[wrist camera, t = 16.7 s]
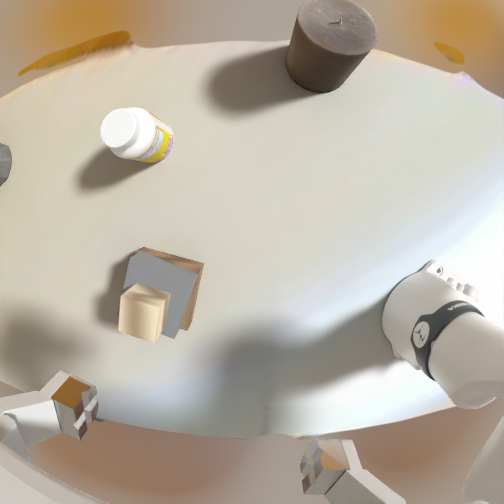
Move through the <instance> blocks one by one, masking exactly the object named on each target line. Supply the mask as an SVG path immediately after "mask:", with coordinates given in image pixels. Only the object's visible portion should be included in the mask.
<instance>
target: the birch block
mask: <svg viewBox="0 0 504 504" xmlns="http://www.w3.org/2000/svg"><path fill="white" fill-rule="evenodd" d="M170 294H171V293H168V292H165V291H161V290H158V289H155V288H151V287H148V286H145V285H141V284H138V283H136V284H135V285H133V286H132V287H131V288H130V289H128V290H127V291H126V292H125V293H124V294H122V295H121V300H120V312H119V328H118V331H120V332H123V333H125V334H128V335H131V336H134V337H137V338H140V339H143V340H146V341H149V342H152V343H155V341H156V340H157V338H158V337H159V335H160V334H161V332H162V330H163V329H164V327H165V326H166V320H167V313H168V307H169V300H170Z"/></svg>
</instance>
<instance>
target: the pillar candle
mask: <svg viewBox="0 0 504 504" xmlns="http://www.w3.org/2000/svg"><path fill="white" fill-rule="evenodd" d="M377 35H378V34H377V28H376V25H375V23H374V21H373V19H372V16H371V15H369V14H368V12H367V11H366V10H365V9H363V8H362V7H361V6H358V5H357V4H355V3H354V2H352V1H349V0H307V1H306V2H304V3H303V4H302V6H301V7H300V8H299V11H298V15H297V18H296V22H295V26H294V30H293V34H292V38H291V41H290V45H289V49H288V53H287V56H286V67H287V70H288V73H289V75H290V76H291V78H292V79H293V80H294V81H295V82H296V83H297V84H298V85H300V86H301V87H303V88H305V89H307V90H310V91H313V92H318V93H322V92H331V91H333V90H335V89H337V88H339V87H340V86H341V85H342V84H343V83H344V81H345V80H346V79H347V78H348V77H349V76H350V74H351V73H352V72H353V71H354V70H355V68H356V67H357V66H358V65H359V64H360V62H361V61H362V60H363V59H364V58H365V57H366V55H367V54H368V53H369V52H370V50H371V49H372V48H373V47H374V46H375V44H376V41H377Z"/></svg>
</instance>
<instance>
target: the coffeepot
mask: <svg viewBox="0 0 504 504" xmlns="http://www.w3.org/2000/svg"><path fill="white" fill-rule="evenodd" d="M11 162H12V157H11V152H10V149H9V146H6V145H3V144H1V143H0V185H2V184H3V183H4V182H5V181H6V179H7V178H8V175H9V173H10V169H11Z"/></svg>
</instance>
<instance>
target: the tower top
mask: <svg viewBox="0 0 504 504" xmlns="http://www.w3.org/2000/svg"><path fill="white" fill-rule="evenodd" d="M197 276H198V274H197V273H195V272H192V271H189V270H187V269H184V268H182V267H179V266H177V265H174V264H172V263H169V262H167V261H164V260H162V259H159V258H157V257H155V256H152V255H150V254H147V253H145V252H142V251H141V252H139V253H137V254H135V255H133V256H132V257H130V260H129V264H128V268H127V272H126V277H125V281H124V285H123V290H122V294H124V293H125V292H126V291H127V290H128V289H130V288H131V287H132V286H133V285H135V284H136V283H138V284H141V285H145V286H148V287H151V288H155V289H158V290H161V291H165V292H168V293H171V294H170V300H169V307H168V313H167V320H166V326H165V327H164V329H163V330H162V332H161V334H163V335H165V336H168V337H170V338H173V339H174V338H175V336H176V334H177V333H178V331H179V329H180V327H181V324H182V321H183V318H184V315H185V312H186V309H187V306H188V303H189V300H190V297H191V294H192V291H193V288H194V285H195V282H196V279H197ZM122 294H121V295H122ZM120 300H121V299H120ZM119 312H120V304H119V309H118V315H119Z"/></svg>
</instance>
